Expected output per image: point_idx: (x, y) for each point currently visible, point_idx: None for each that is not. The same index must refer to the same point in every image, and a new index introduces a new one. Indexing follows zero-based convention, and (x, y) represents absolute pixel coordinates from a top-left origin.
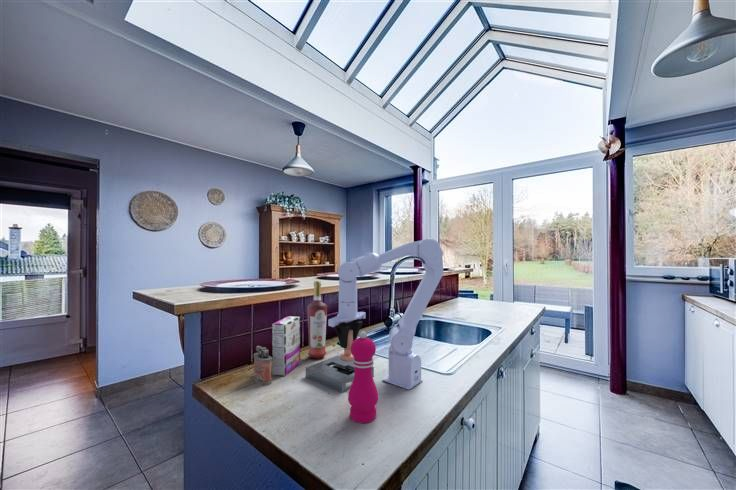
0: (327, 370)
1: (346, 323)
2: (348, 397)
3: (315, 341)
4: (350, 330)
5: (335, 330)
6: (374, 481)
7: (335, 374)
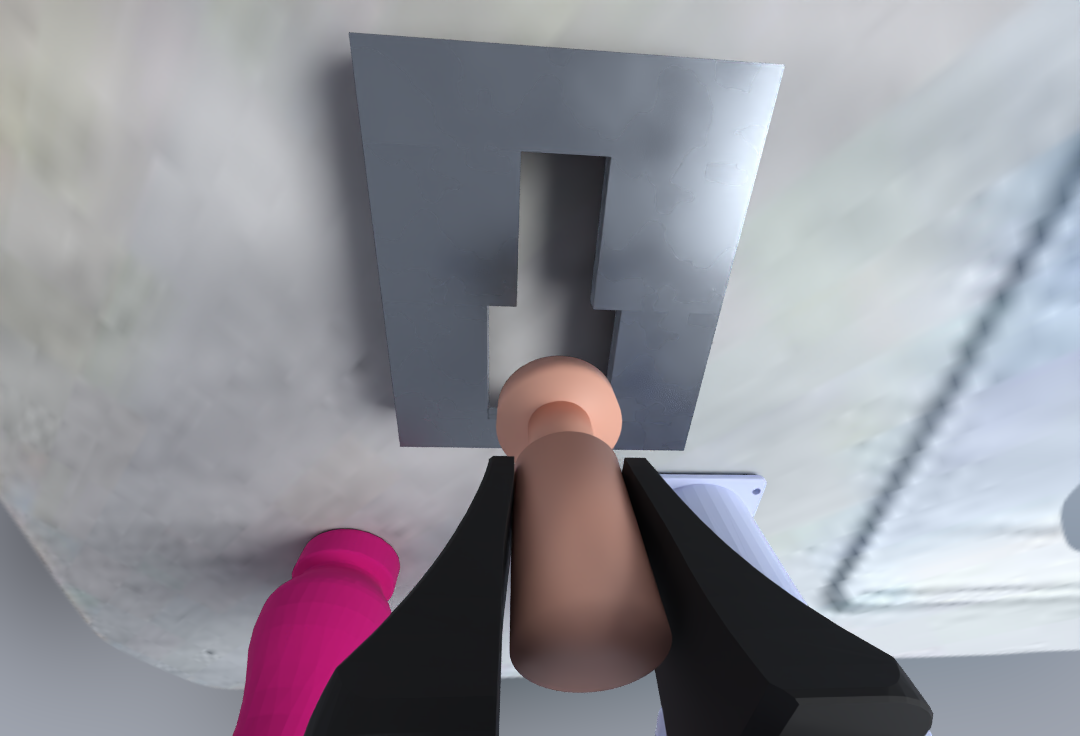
0: (449, 262)
1: (744, 662)
2: (261, 611)
3: None
4: (614, 665)
5: (394, 617)
6: (201, 683)
7: (441, 355)
